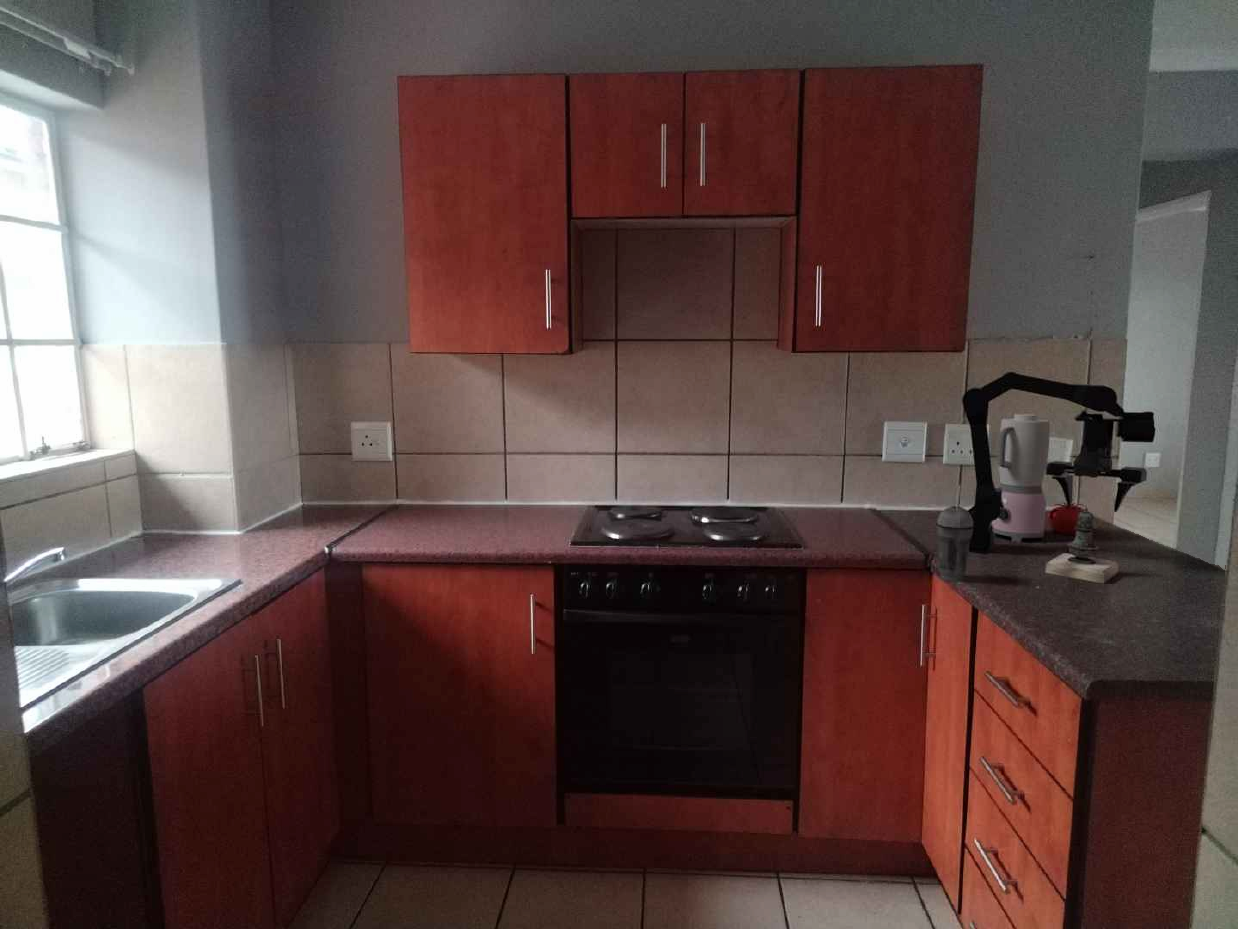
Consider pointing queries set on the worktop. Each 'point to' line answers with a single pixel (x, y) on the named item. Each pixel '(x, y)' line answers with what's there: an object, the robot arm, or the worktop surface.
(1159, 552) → the worktop surface
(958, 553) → the beverage cup
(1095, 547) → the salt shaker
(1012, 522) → the blender
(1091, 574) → the wooden tray
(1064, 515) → the red tomato
